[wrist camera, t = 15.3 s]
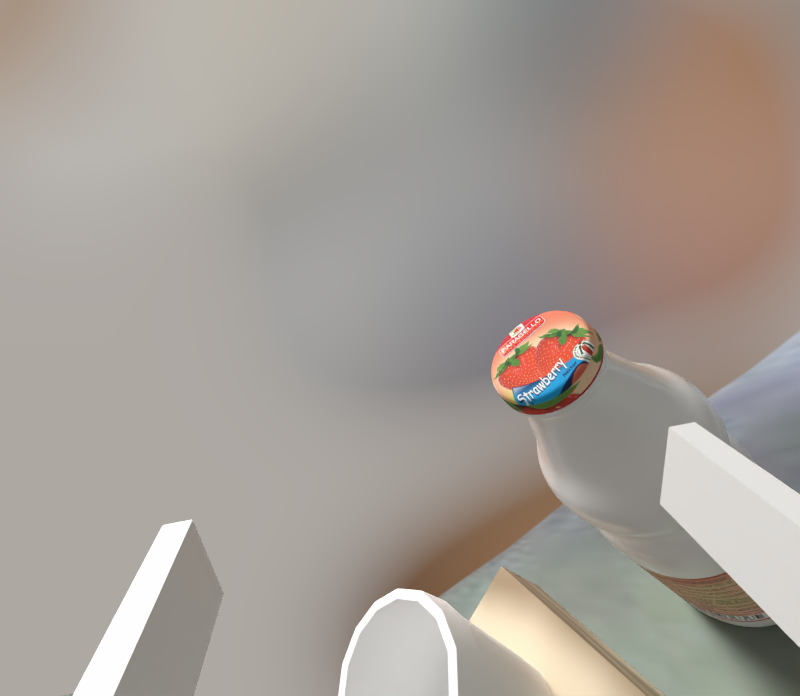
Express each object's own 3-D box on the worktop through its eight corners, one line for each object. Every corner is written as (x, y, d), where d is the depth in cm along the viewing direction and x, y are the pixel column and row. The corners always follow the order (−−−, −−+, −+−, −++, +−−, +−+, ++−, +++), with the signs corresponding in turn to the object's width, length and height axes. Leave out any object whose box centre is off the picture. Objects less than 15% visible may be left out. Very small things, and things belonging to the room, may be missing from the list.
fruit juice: (728, 658, 29) (493, 502, 16) (638, 537, 37) (430, 365, 24) (861, 585, 27) (720, 330, 13) (735, 473, 35) (566, 242, 21)
